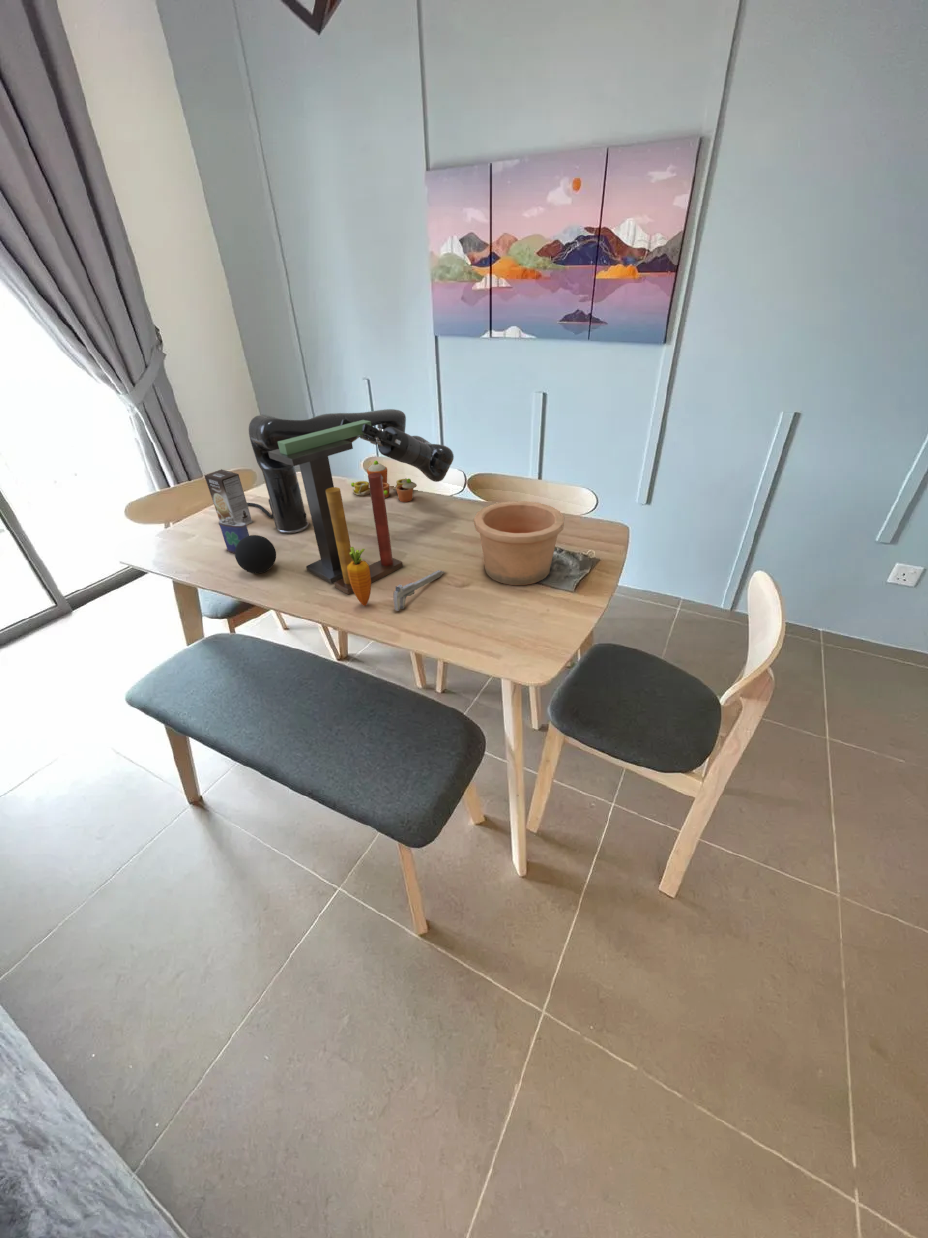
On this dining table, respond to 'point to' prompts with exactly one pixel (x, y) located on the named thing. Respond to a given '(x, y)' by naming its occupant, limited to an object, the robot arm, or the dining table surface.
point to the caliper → (411, 589)
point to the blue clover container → (233, 532)
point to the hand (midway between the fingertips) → (352, 425)
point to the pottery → (518, 540)
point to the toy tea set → (386, 484)
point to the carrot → (359, 576)
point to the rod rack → (382, 531)
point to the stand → (319, 502)
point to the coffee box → (228, 496)
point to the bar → (321, 437)
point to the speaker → (255, 554)
